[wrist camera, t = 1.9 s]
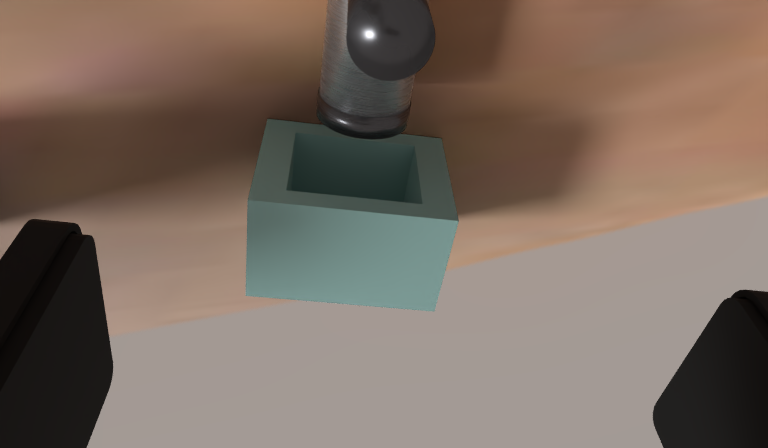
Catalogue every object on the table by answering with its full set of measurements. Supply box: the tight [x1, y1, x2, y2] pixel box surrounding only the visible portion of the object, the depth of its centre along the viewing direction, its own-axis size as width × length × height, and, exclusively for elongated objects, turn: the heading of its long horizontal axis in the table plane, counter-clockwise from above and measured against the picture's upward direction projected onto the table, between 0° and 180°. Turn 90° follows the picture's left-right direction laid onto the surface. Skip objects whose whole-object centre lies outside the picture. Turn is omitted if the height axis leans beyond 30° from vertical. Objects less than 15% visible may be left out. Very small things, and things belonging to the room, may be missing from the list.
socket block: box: [246, 119, 459, 311], centre depth 31 cm, size 6×9×7 cm, turn 82°
